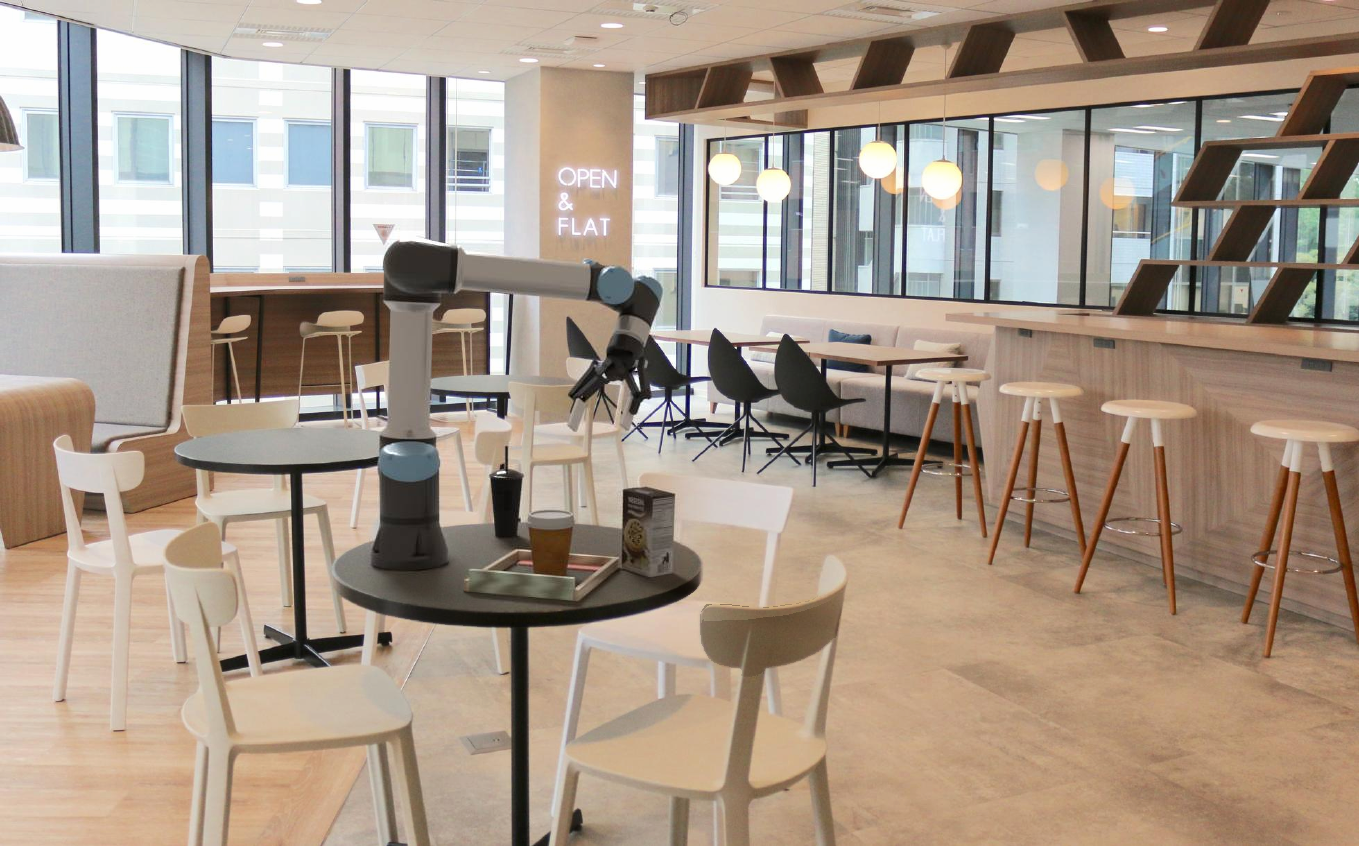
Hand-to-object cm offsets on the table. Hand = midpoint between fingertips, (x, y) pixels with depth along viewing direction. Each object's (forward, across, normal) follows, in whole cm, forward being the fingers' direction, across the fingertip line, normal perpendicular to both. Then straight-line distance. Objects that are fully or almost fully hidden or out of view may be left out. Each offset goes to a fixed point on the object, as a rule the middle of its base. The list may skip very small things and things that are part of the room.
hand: (597, 428), depth 242 cm
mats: (+28, +2, -6) cm, 29 cm away
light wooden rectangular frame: (+34, -1, +1) cm, 34 cm away
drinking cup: (+18, +30, -16) cm, 38 cm away
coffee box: (+25, -13, -14) cm, 31 cm away
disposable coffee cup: (+33, 0, -1) cm, 33 cm away
